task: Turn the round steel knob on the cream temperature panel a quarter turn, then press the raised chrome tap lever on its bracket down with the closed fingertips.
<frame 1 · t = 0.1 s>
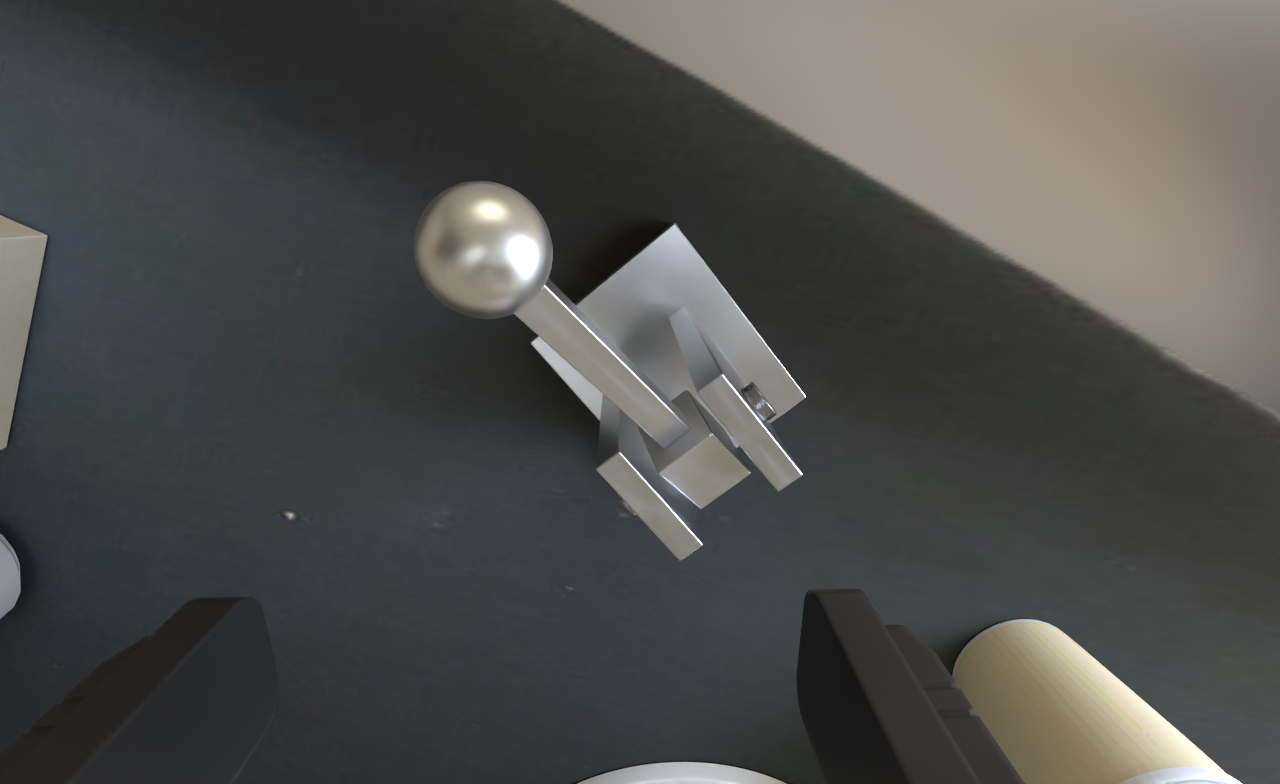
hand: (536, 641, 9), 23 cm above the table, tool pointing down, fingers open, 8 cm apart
tap lever: (606, 366, 18), point 13 cm above the table, hinge at 25.0°
tap bracket: (669, 364, 31), on the table
coffee cup: (1009, 666, 38), on the table
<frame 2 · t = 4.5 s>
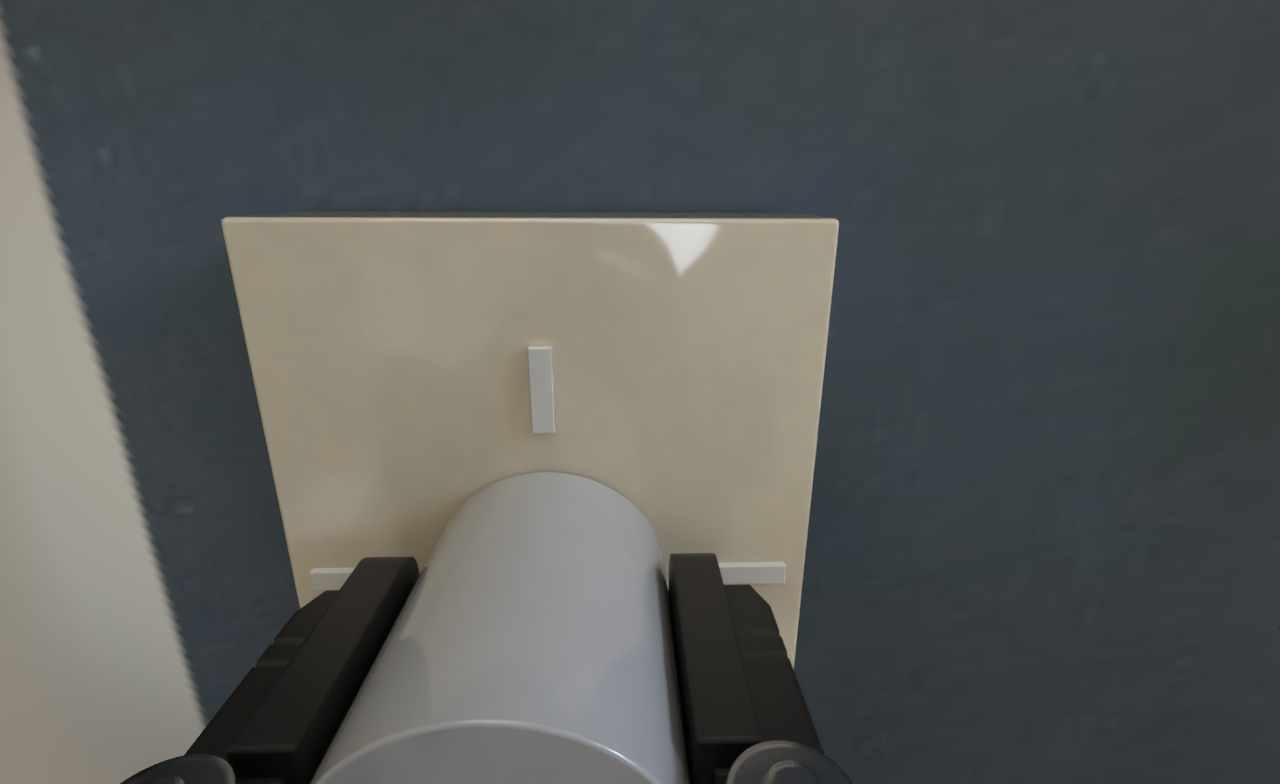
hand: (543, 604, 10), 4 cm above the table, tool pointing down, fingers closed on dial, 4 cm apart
dial: (529, 693, 8), point 6 cm above the table, hinge at 0.1°, touching gripper
temp panel: (566, 492, 13), on the table
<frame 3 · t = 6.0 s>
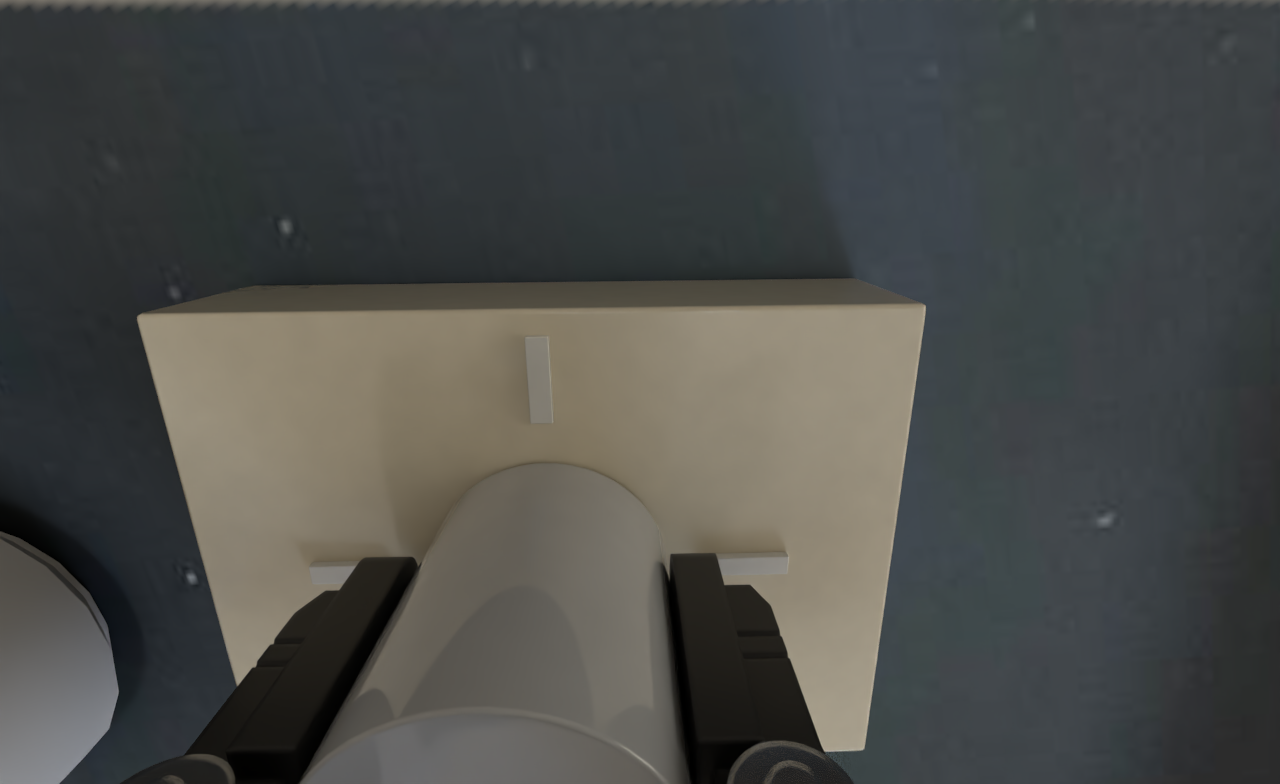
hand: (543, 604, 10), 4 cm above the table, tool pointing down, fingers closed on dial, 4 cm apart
dial: (528, 684, 8), point 6 cm above the table, hinge at 93.4°, touching gripper
temp panel: (567, 486, 13), on the table
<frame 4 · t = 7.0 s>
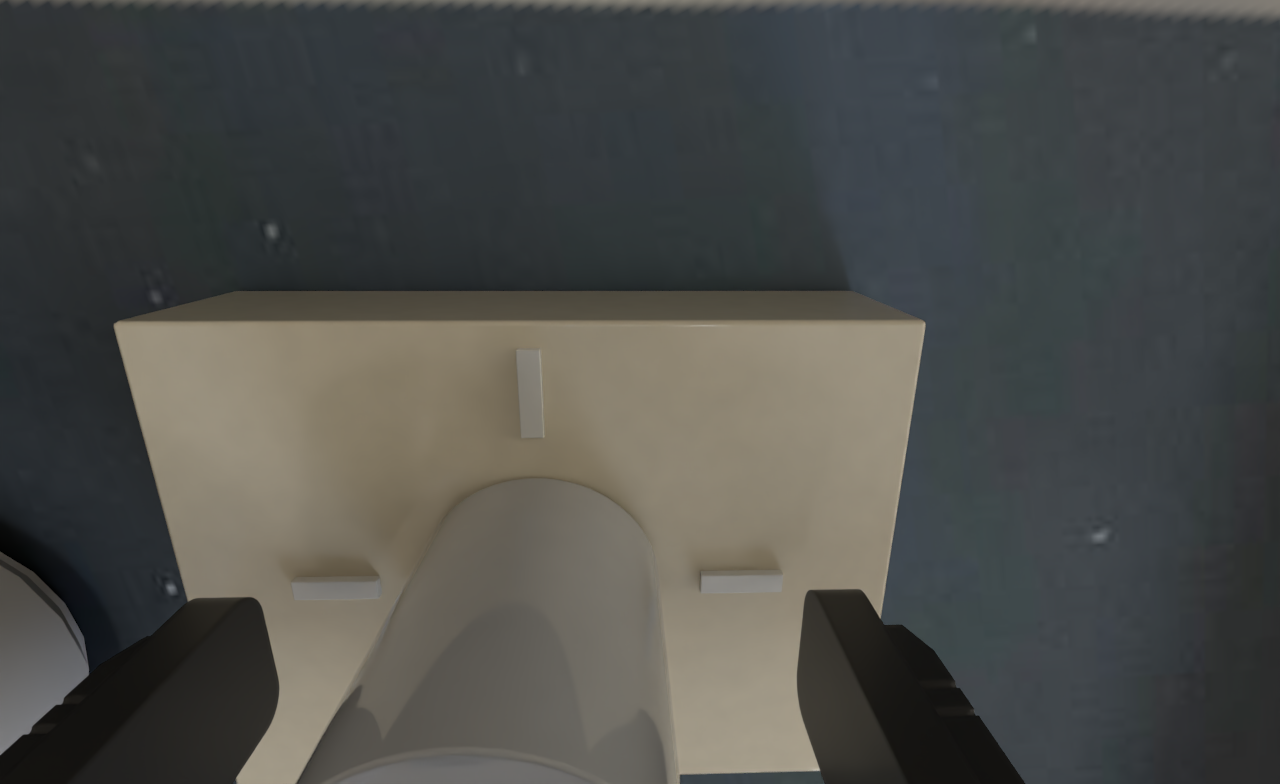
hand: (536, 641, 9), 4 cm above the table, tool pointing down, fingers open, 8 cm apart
dial: (516, 710, 8), point 6 cm above the table, hinge at 93.8°
temp panel: (558, 497, 13), on the table
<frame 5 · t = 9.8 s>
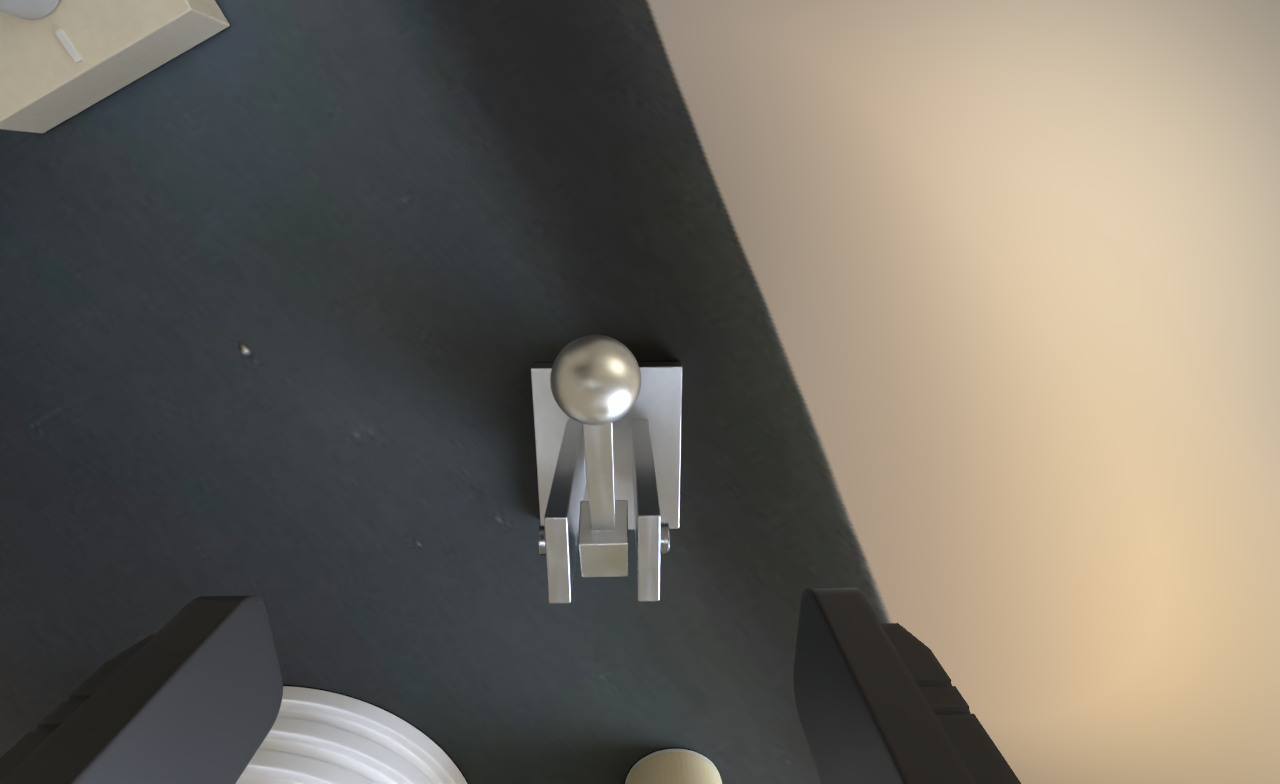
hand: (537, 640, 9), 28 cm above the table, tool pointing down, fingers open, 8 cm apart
tap lever: (600, 468, 25), point 13 cm above the table, hinge at 25.0°
tap bracket: (608, 444, 39), on the table
coffee cup: (672, 782, 48), on the table
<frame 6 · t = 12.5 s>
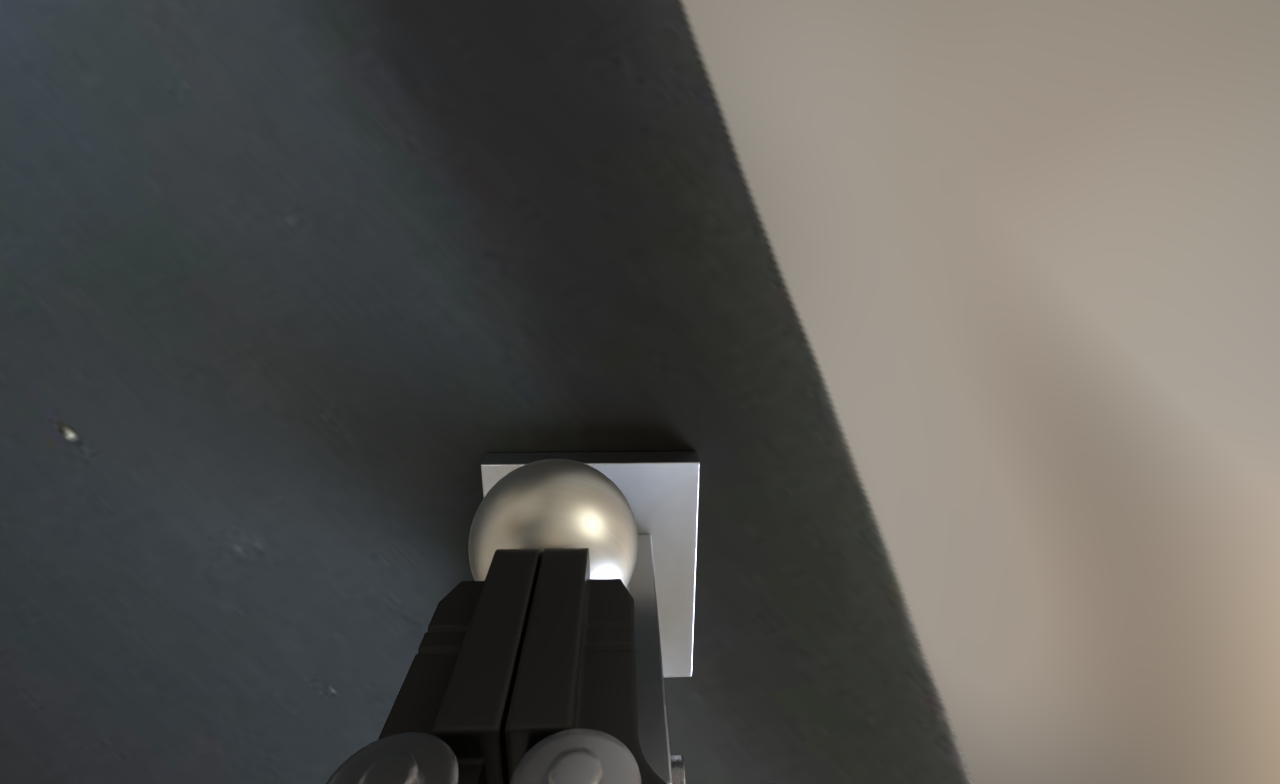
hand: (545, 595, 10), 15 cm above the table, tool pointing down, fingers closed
tap lever: (568, 685, 14), point 12 cm above the table, hinge at 15.8°, touching gripper
tap bracket: (594, 562, 28), on the table
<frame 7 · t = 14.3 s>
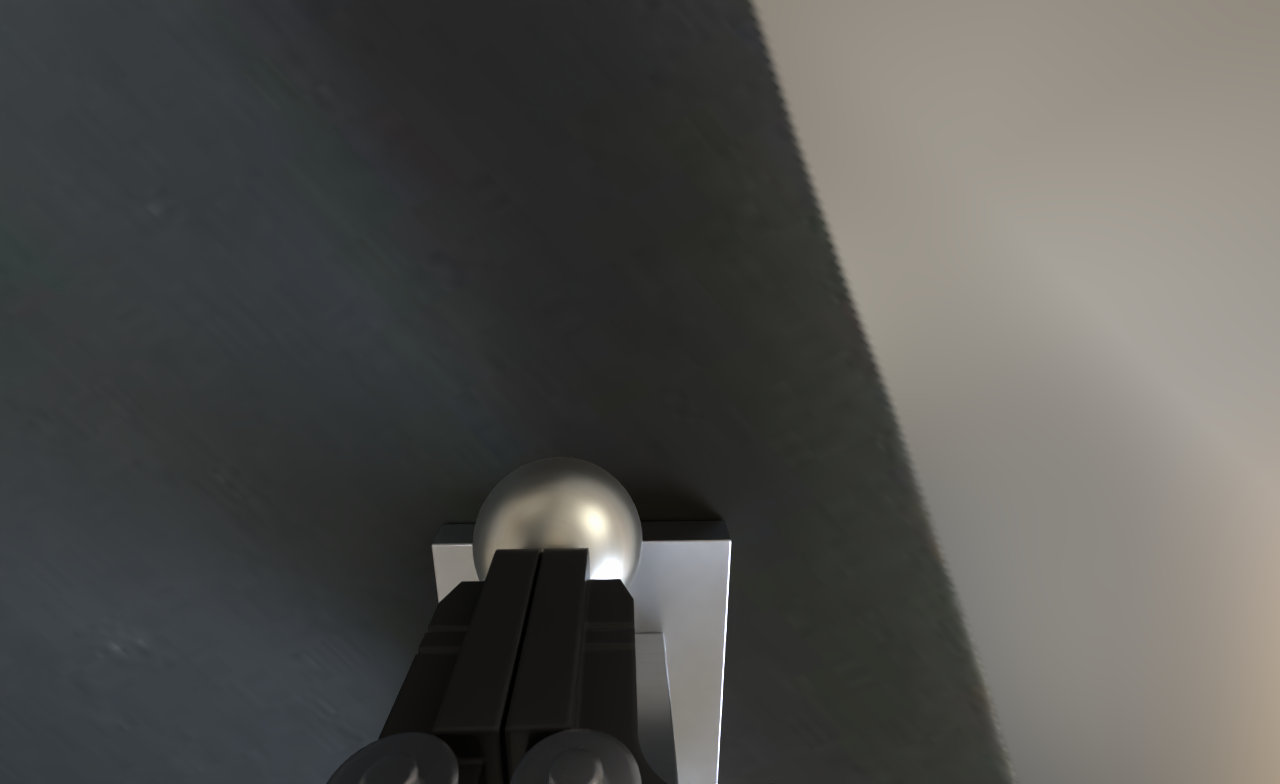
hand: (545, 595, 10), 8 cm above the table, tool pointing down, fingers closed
tap bracket: (588, 661, 21), on the table
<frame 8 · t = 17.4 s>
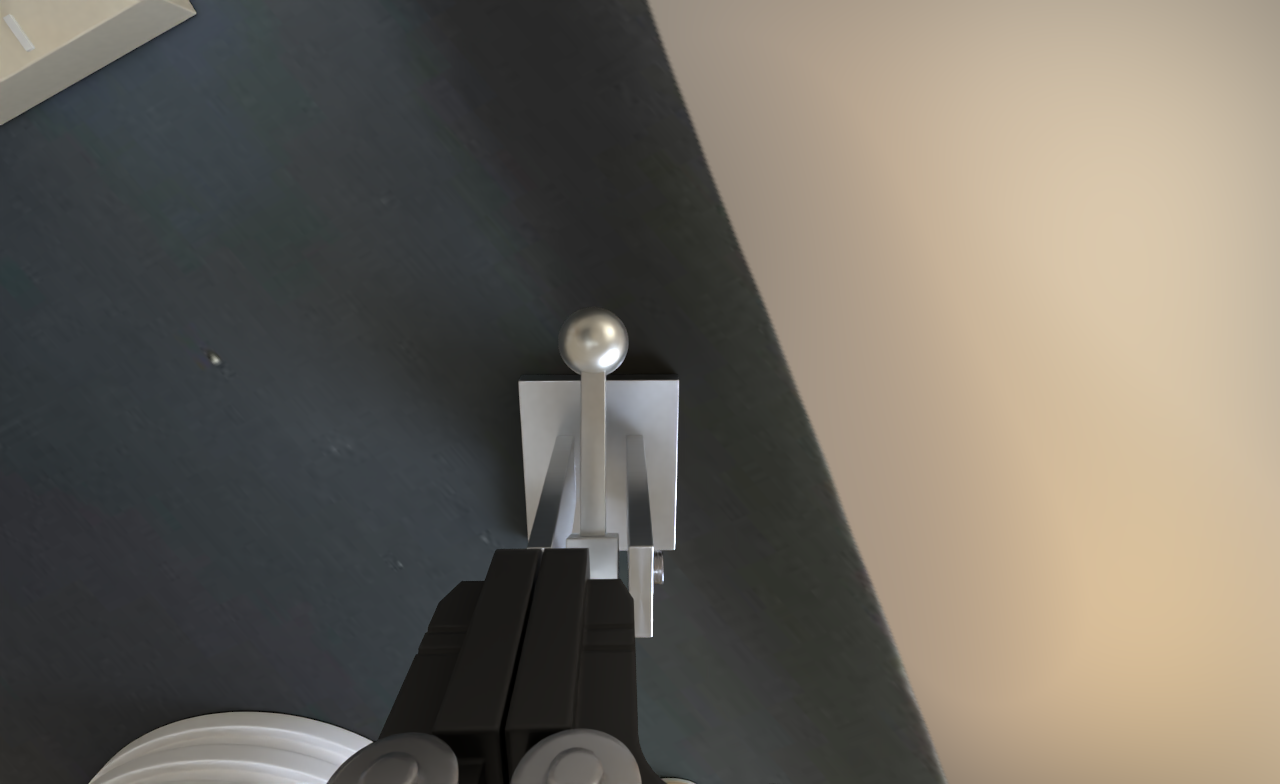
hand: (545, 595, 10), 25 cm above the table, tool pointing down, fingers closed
tap lever: (593, 450, 27), point 9 cm above the table, hinge at -26.5°
tap bracket: (601, 461, 37), on the table
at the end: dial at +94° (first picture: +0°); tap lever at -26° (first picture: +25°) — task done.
